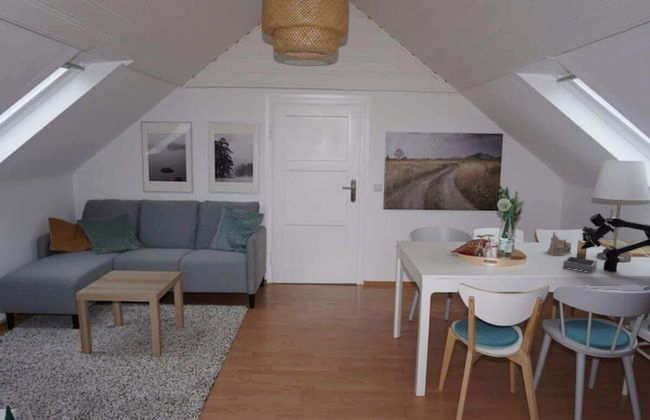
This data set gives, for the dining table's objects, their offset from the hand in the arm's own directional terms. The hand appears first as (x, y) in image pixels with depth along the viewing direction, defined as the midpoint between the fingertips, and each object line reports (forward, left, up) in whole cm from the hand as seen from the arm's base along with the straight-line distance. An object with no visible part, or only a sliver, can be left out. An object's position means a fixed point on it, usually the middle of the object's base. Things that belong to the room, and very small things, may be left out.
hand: (579, 247), depth 296 cm
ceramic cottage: (+17, -33, -13) cm, 39 cm away
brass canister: (-1, -1, -6) cm, 7 cm away
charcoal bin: (-1, -1, -13) cm, 13 cm away
